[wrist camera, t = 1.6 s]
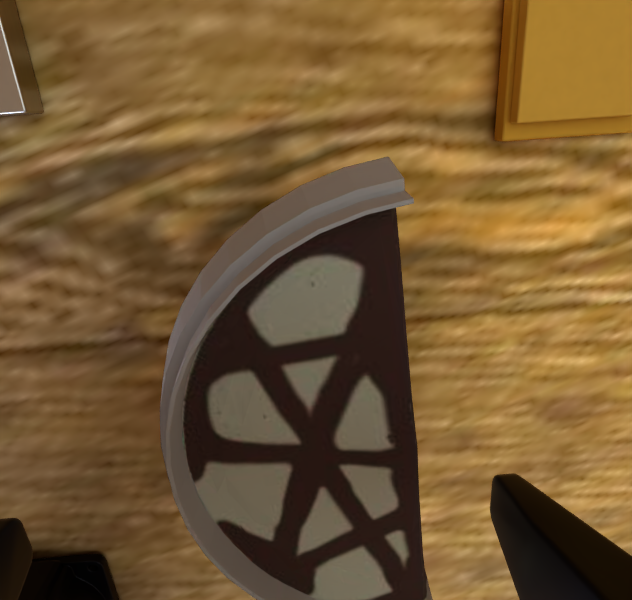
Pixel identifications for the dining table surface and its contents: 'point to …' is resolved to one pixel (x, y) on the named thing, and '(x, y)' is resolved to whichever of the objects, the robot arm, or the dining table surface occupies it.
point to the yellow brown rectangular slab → (564, 69)
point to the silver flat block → (15, 67)
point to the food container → (301, 399)
